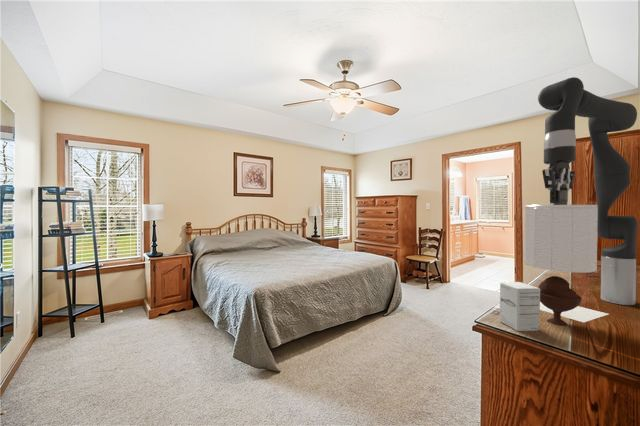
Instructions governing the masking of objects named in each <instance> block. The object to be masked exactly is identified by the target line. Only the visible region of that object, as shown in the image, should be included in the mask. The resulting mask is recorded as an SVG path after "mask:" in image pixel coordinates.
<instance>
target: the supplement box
mask: <svg viewBox="0 0 640 426" xmlns="http://www.w3.org/2000/svg"><path fill="white" fill-rule="evenodd" d="M540 313H541V310H540V288H538V286H537V287H536V286H534V285H531V284H528V283H525V282H522V281H507V282H506V281H504V282H502V281H501V282H500V283H499V322H500V323H503V325H506V326H508V327H509V328H511V329H513V330H515V331H516V332H531V331H532V332H533V331H534V332H535V331H540V316H541V315H540Z"/></svg>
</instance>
